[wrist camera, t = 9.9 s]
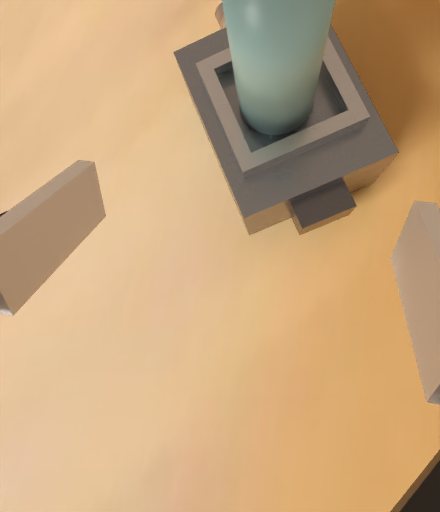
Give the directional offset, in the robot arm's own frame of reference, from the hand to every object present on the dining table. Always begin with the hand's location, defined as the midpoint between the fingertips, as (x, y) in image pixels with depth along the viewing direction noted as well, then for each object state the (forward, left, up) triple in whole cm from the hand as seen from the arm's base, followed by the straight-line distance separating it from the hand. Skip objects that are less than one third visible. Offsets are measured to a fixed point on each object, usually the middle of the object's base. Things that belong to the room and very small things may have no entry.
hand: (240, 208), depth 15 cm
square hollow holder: (-9, +6, -15) cm, 18 cm away
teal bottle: (-9, +5, -9) cm, 14 cm away
